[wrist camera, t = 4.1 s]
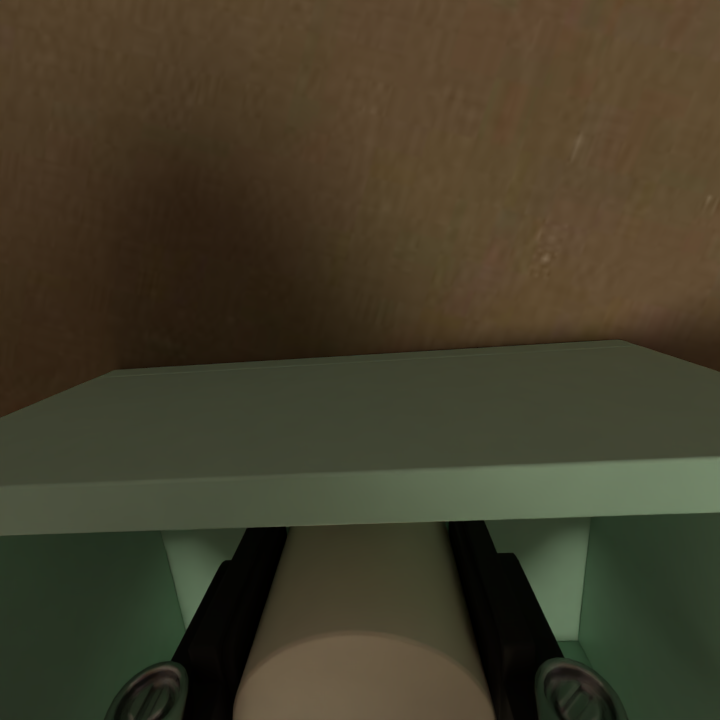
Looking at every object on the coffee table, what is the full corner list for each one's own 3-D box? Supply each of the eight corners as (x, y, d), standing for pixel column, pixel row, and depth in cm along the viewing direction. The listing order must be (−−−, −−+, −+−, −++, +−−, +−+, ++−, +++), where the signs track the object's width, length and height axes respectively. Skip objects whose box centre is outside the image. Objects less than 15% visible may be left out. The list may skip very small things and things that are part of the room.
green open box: (184, 639, 14) (40, 923, 8) (114, 369, 11) (-188, 494, 5) (587, 634, 13) (764, 949, 7) (620, 338, 10) (959, 448, 4)
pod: (302, 591, 12) (252, 817, 7) (284, 465, 11) (209, 635, 6) (445, 588, 12) (495, 822, 7) (444, 458, 10) (502, 630, 6)
